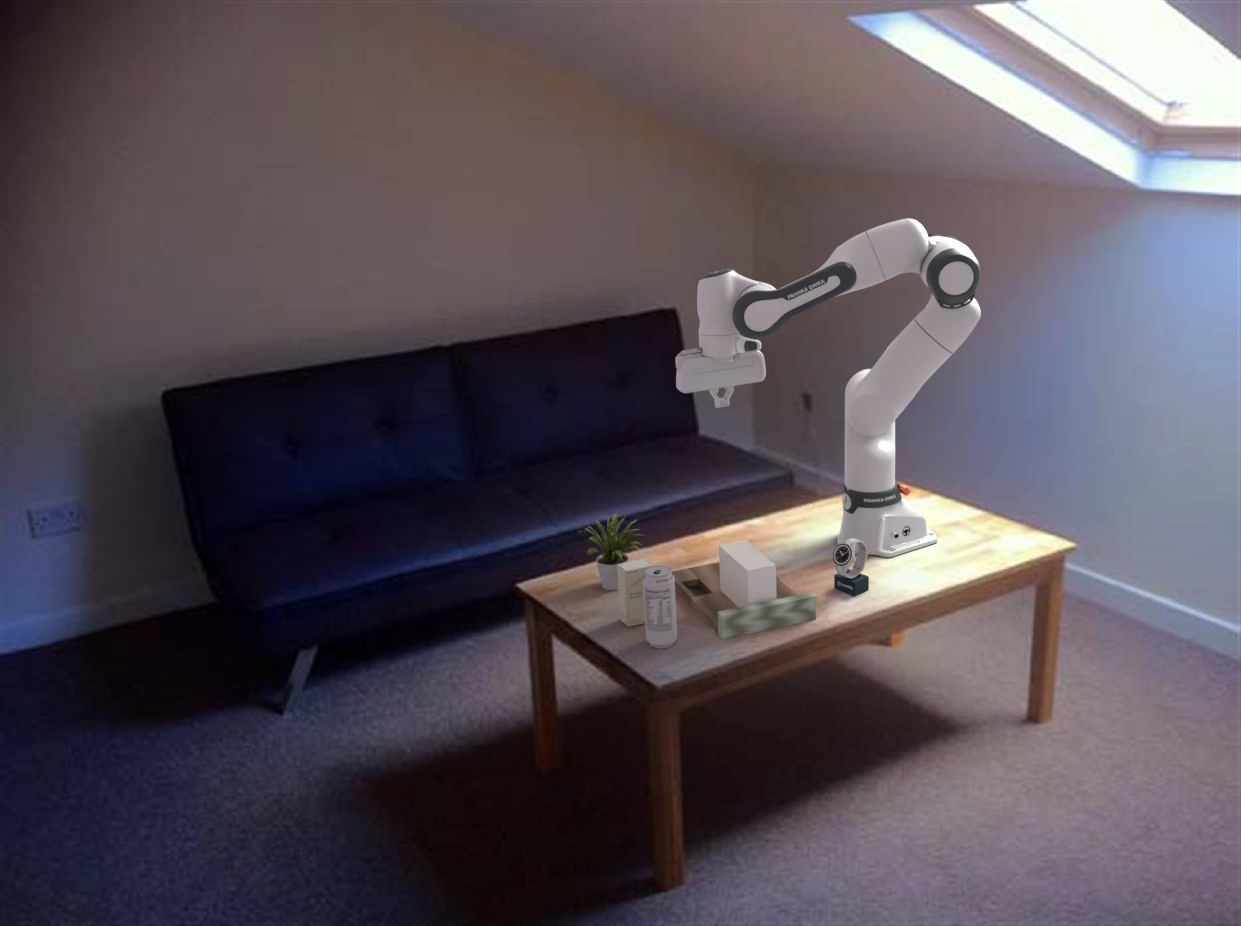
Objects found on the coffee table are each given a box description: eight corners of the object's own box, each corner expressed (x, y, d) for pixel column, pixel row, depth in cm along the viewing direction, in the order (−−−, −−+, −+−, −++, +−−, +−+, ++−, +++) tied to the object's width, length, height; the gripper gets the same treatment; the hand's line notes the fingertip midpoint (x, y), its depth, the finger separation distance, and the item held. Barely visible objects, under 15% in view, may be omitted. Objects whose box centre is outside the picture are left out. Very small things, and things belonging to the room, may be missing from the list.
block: (746, 584, 232) (745, 540, 229) (776, 611, 219) (775, 564, 216) (720, 590, 230) (718, 545, 227) (748, 617, 217) (747, 570, 214)
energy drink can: (681, 636, 216) (678, 565, 211) (671, 651, 210) (667, 578, 206) (652, 633, 218) (648, 562, 213) (641, 647, 213) (637, 575, 208)
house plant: (605, 608, 230) (600, 534, 225) (565, 588, 240) (559, 518, 235) (657, 586, 238) (653, 515, 233) (616, 568, 249) (612, 500, 244)
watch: (827, 591, 231) (827, 542, 228) (853, 579, 236) (853, 531, 232) (848, 599, 227) (849, 549, 223) (874, 587, 232) (875, 538, 228)
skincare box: (628, 627, 221) (624, 571, 217) (619, 619, 225) (615, 563, 221) (656, 620, 223) (653, 564, 219) (647, 612, 227) (644, 557, 223)
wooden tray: (751, 564, 247) (750, 543, 245) (815, 619, 219) (815, 596, 218) (666, 580, 241) (665, 559, 239) (722, 639, 214) (721, 615, 212)
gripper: (680, 354, 236) (683, 416, 240) (768, 341, 241) (769, 402, 246) (669, 348, 241) (673, 410, 246) (755, 336, 247) (757, 396, 251)
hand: (722, 406), depth 246 cm, fingers closed
